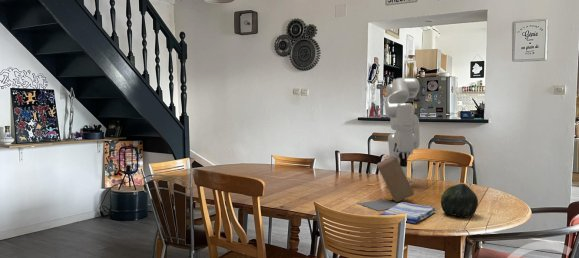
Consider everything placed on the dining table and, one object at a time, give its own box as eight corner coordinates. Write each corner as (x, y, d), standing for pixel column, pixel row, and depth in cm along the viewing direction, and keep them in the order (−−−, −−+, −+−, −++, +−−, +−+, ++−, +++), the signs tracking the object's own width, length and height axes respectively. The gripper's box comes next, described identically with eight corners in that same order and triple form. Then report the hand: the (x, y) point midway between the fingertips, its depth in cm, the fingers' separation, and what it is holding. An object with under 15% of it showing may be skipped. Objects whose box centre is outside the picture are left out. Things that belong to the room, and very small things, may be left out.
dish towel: (436, 212, 191) (436, 206, 190) (417, 225, 172) (417, 218, 172) (399, 206, 201) (399, 200, 201) (377, 217, 182) (377, 211, 182)
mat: (384, 200, 216) (384, 199, 216) (406, 206, 202) (406, 206, 202) (357, 203, 208) (357, 203, 208) (378, 211, 194) (378, 210, 194)
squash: (440, 197, 198) (442, 176, 188) (475, 200, 194) (479, 179, 183) (439, 223, 188) (442, 203, 178) (476, 227, 184) (481, 207, 174)
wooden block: (415, 194, 207) (396, 157, 207) (395, 203, 208) (377, 166, 208) (411, 190, 217) (393, 155, 217) (393, 199, 218) (375, 163, 218)
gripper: (410, 128, 216) (409, 164, 217) (386, 129, 209) (386, 166, 210) (421, 128, 209) (420, 166, 210) (397, 129, 202) (396, 168, 203)
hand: (403, 166), depth 210 cm, fingers closed
